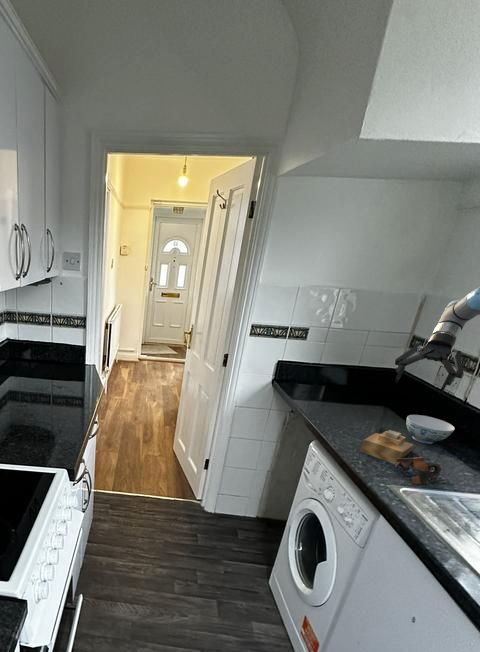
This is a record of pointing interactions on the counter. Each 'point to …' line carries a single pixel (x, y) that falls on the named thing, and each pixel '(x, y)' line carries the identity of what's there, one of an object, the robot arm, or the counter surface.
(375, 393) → the counter surface
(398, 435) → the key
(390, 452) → the stepped wooden block
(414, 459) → the brown toy vehicle
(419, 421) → the chinaware
